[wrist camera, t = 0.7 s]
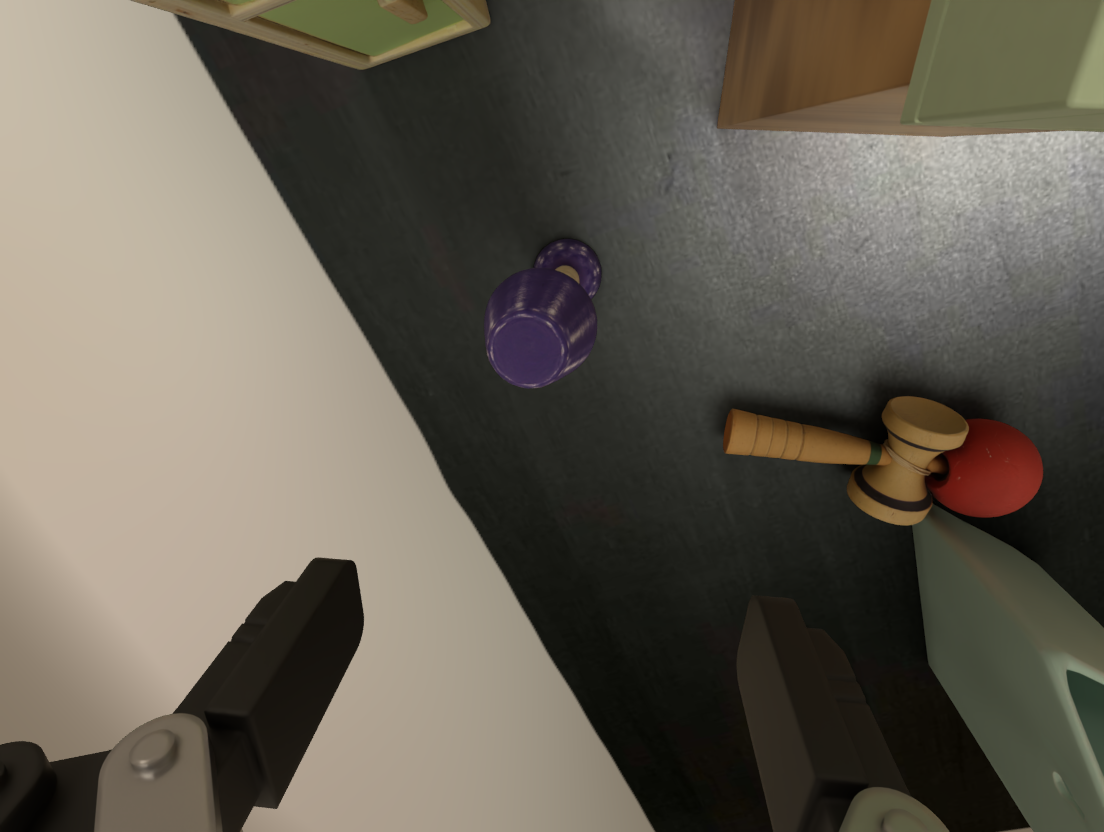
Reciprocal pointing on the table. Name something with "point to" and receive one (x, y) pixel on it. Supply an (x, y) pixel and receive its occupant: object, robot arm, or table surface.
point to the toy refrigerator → (340, 24)
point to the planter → (1017, 669)
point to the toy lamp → (544, 316)
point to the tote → (1010, 66)
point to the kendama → (908, 459)
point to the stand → (826, 67)
